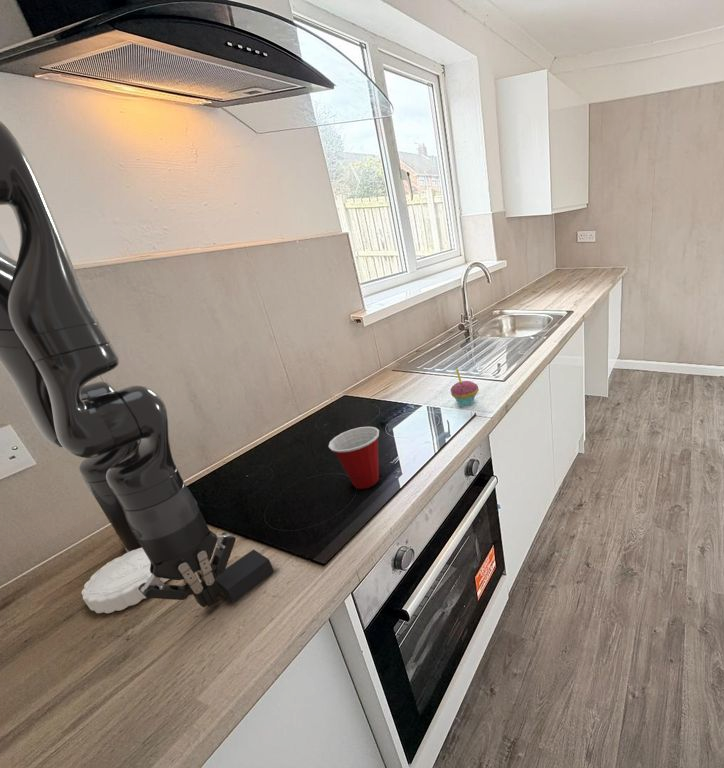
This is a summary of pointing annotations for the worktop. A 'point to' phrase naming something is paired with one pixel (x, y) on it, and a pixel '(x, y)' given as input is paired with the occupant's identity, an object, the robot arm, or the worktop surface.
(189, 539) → the robot arm
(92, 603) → the mooncake
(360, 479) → the plastic cup
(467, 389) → the cupcake
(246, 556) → the eraser
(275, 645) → the worktop surface
